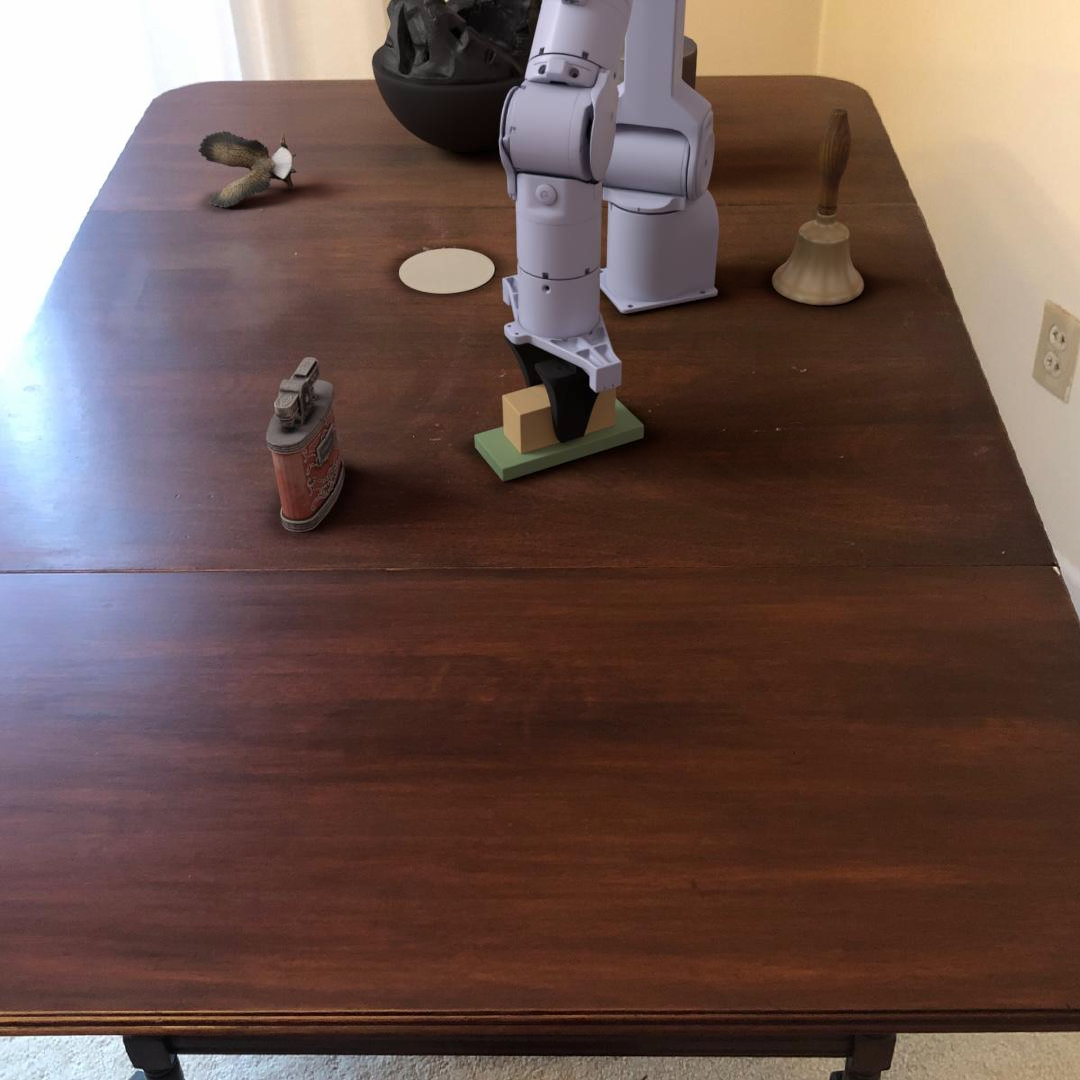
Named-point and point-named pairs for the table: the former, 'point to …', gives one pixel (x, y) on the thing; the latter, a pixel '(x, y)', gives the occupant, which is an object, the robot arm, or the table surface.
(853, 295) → the hand bell
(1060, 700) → the table surface
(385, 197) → the table surface
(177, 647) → the table surface
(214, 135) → the eagle figurine
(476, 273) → the spill
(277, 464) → the lighter
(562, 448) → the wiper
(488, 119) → the bowl of black rocks
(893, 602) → the table surface
